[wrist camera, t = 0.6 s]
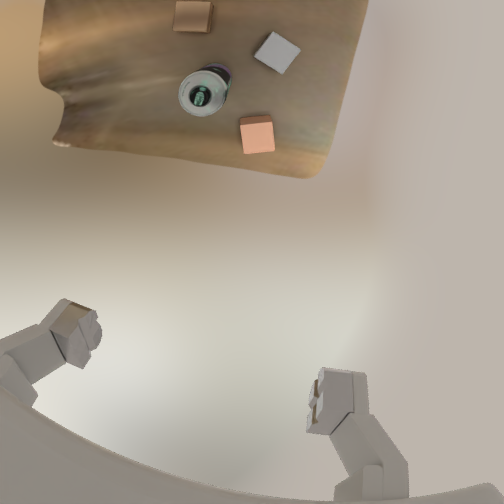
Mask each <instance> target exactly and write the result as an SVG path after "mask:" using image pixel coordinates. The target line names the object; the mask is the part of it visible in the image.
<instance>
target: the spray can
mask: <svg viewBox="0 0 504 504" xmlns="http://www.w3.org/2000/svg"><path fill="white" fill-rule="evenodd" d="M231 82H232V75H231V72H230V71H229V69H228V68H227V67H226V66H224V65H222V64H218V63H213V64H209V65H207V66H205V67H203V68H201V69H199V70H197V71H195V72H194V73H192V74H190V75H189V76H187V77H186V78H185V79H184V80H183V82H182V83H181V86H180V88H179V92H178V97H179V102H180V104H181V106H182V107H183V108H184V109H185V110H186V111H187V112H188V113H190V114H192V115H195V116H208V115H211V114H213V113H215V112H216V111H218V110H219V109H220V108H221V107H222V106H223V104H224V102H225V100H226V97H227V94H228V91H229V88H230V85H231Z"/></svg>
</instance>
